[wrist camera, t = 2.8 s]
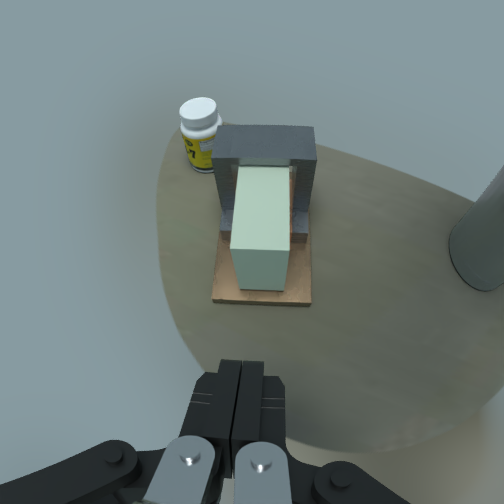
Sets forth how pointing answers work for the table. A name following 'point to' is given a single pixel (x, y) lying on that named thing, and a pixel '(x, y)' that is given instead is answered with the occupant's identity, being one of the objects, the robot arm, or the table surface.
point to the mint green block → (261, 227)
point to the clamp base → (300, 186)
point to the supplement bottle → (200, 131)
